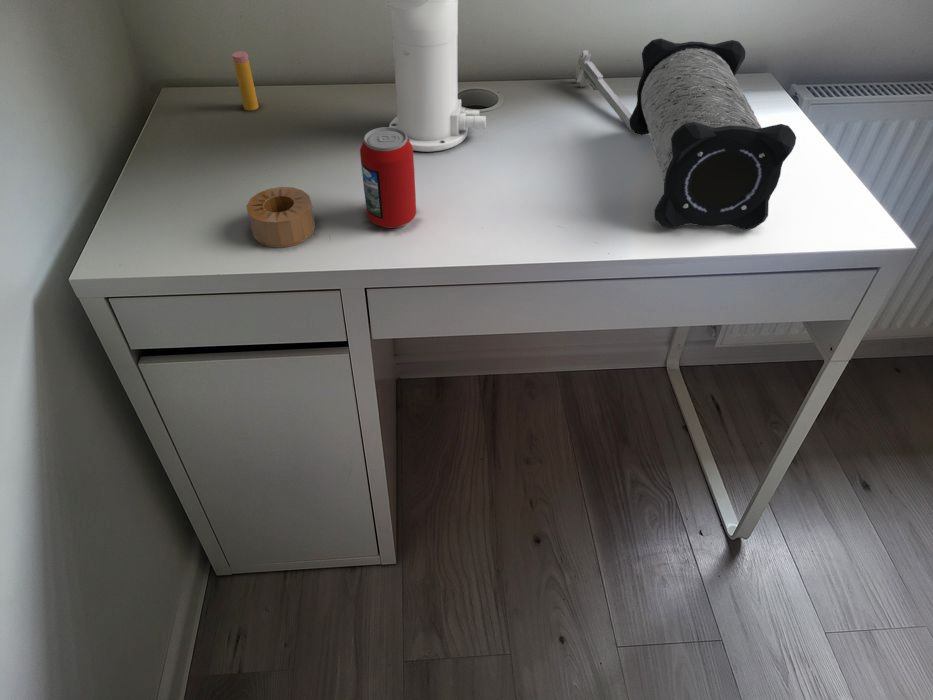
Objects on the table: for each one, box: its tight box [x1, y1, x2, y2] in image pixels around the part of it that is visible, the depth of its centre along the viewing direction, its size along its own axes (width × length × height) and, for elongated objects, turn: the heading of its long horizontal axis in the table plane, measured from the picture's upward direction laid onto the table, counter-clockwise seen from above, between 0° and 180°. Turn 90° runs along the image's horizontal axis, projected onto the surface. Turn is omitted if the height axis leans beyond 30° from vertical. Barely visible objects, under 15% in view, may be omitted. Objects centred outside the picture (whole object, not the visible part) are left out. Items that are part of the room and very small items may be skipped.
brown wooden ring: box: [246, 186, 316, 249], centre depth 94 cm, size 8×8×4 cm
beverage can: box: [359, 126, 417, 229], centre depth 93 cm, size 7×7×12 cm
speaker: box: [629, 37, 797, 231], centre depth 99 cm, size 15×29×15 cm, turn 178°
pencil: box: [231, 50, 259, 112], centre depth 117 cm, size 2×2×9 cm
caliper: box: [575, 49, 633, 132], centre depth 119 cm, size 20×1×6 cm, turn 22°
